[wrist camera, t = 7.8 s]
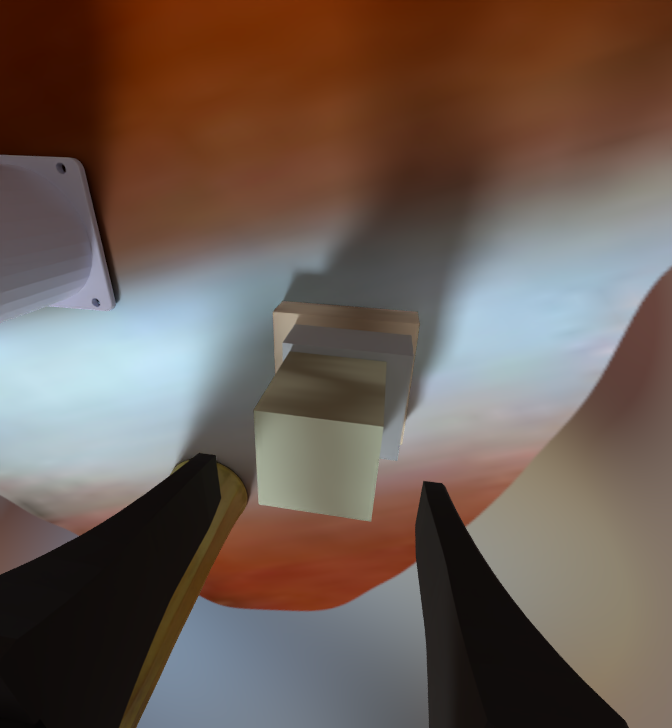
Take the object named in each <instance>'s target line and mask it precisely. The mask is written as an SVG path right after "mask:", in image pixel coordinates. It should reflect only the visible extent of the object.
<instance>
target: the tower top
mask: <svg viewBox="0 0 672 728" xmlns="http://www.w3.org/2000/svg"><path fill="white" fill-rule="evenodd" d="M282 351H283V361H284V360H285V358H286V356H287V355H288V353H289V351H292V352H301V353H310V354H320V355H329V356H338V357H347V358H356V359H366V360H375V361H384V362H387V366H386V387H385V408H384V427H383V435H382V442H381V450H380V457H379V458H380V459H388V460H395V461H397V459H398V453H399V447H400V440H401V434H402V428H403V421H404V415H405V409H406V402H407V396H408V390H409V383H410V377H411V371H412V364H413V358H414V354H413V345H412V336H411V335H403V334H393V333H383V332H372V331H362V330H351V329H341V328H331V327H320V326H310V325H299V324H295V325H294V326H293V328H292V329H291V331H290V332H289V334H288V335H287V337H286V338H285V340H284V341H283V343H282Z"/></svg>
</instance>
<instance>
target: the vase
mask: <svg viewBox="0 0 672 728" xmlns="http://www.w3.org/2000/svg"><path fill="white" fill-rule="evenodd" d="M188 461H189V460H187V461H184V462H182V463H180V464H179V465H177V466H176V467H175V468H174V470H173V471H172V473H171V474H173V473H174V472H175V471H176V470H178V469H179V468H180V467H182V466H183V465H184V464H185V463H187V462H188ZM216 463H217V462H216ZM217 470H218V477H219V484H220V492H221V500H220V503H219V506H218V508H217V511H216V514H215V516H214V518H213V521H212V523H211V526H210V528H209V530H208V531H207V533H206V535H205V537H204V539H203V541H202V543H201V544H200V546H199V548H198V550H197V552H196V554H195V555H194V557H193V559H192V561H191V563H190V565H189V566H188V568H187V570H186V572H185V574H184V575H183V577H182V579H181V581H180V583H179V585H178V586H177V588H176V590H175V592H174V594H173V596H172V598H171V600H170V602H169V604H168V607H167V609H166V611H165V614H164V616H163V618H162V621H161V623H160V625H159V627H158V630H157V632H156V634H155V637H154V639H153V642H152V644H151V646H150V649H149V651H148V654H147V656H146V659H145V661H144V663H143V666H142V668H141V671H140V674H139V676H138V679H137V681H136V684H135V686H134V689H133V692H132V694H131V697H130V699H129V702H128V705H127V707H126V710H125V713H124V715H123V718H122V721H121V724H120V727H119V728H136V727H137V724H138V723H139V720H140V718H141V716H142V714H143V712H144V710H145V708H146V705H147V703H148V701H149V699H150V697H151V695H152V693H153V691H154V689H155V686H156V684H157V682H158V680H159V678H160V676H161V674H162V671H163V669H164V667H165V665H166V663H167V661H168V658H169V656H170V654H171V652H172V649H173V647H174V645H175V643H176V641H177V639H178V637H179V635H180V633H181V631H182V628H183V626H184V624H185V622H186V620H187V618H188V616H189V614H190V612H191V610H192V608H193V606H194V604H195V602H196V600H197V598H198V596H199V594H200V591H201V589H202V587H203V585H204V583H205V580H206V578H207V576H208V574H209V571H210V569H211V567H212V565H213V563H214V561H215V559H216V558H217V556H218V554H219V552H220V550H221V548H222V546H223V544H224V542H225V541H226V539H227V537H228V535H229V533H230V531H231V529H232V528H233V526H234V524H235V522H236V521H237V519H238V518H239V516H240V515H241V514H242V512H243V511H244V509H245V507H246V504H247V500H248V499H247V492H246V489H245V487H244V484H243V483H242V481H241V480H240V478H239V477H238V476H237V475H236V474H235V473H234V472H233V471H231V470H230V469H229V468H227V467H225V466H223V465H221V464H219V463H217ZM171 474H170V475H171Z"/></svg>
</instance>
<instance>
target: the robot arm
mask: <svg viewBox="0 0 672 728" xmlns="http://www.w3.org/2000/svg"><path fill="white" fill-rule="evenodd" d="M62 165H64V166H65V168H66V172H64V171H63V169H62ZM96 299H98V300H99V302H100V304H99V303H98V302H97V300H96ZM46 306H52V307H64V308H76V309H88V310H99V311H110V310H112V309H113V308H115V306H116V302H115V297H114V293H113V289H112V285H111V280H110V276H109V272H108V268H107V264H106V259H105V255H104V251H103V247H102V242H101V238H100V234H99V230H98V225H97V221H96V217H95V213H94V208H93V204H92V200H91V196H90V191H89V187H88V183H87V179H86V174H85V170H84V167H83V165H82V164H81V162H80V161H79V160H77V159H75V158H69V157H43V156H17V155H0V323H3V322H5V321H8V320H11V319H13V318H16V317H19V316H21V315H24V314H27V313H30V312H32V311H35V310H38V309H40V308H43V307H46ZM220 500H221V492H220V484H219V477H218V470H217V463H216V456H215V455H209V454H201V453H199V454H197V455H196V456H195V457H193V458H192V459H191V460H189V461H188V462H187V463H185V464H184V465H183V466H182V467H180V468H179V469H178V470H176V471H175V472H174V473H173V474H171V475H170V476H169V477H167V478H166V479H165V480H163V481H162V482H161V483H159V484H158V485H157V486H155V487H154V488H153V489H151V490H150V491H149V492H147V493H146V494H145V495H143V496H142V497H140V498H139V499H137V500H136V501H134V502H133V503H132V504H130V505H129V506H127V507H126V508H124V509H123V510H121V511H120V512H118V513H117V514H115V515H114V516H112V517H111V518H109V519H107V520H106V521H104V522H103V523H101V524H99V525H98V526H96V527H94V528H93V529H91V530H89V531H87V532H86V533H84V534H82V535H81V536H79V537H77V538H75V539H73V540H71V541H69V542H67V543H65V544H64V545H62V546H60V547H58V548H56V549H54V550H52V551H51V552H48V553H46V554H45V555H42V556H41V557H38V558H36V559H34V560H32V561H30V562H28V563H26V564H24V565H21V566H19V567H17V568H14V569H12V570H10V571H8V572H6V573H3V574H1V575H0V728H119V727H120V724H121V721H122V718H123V715H124V713H125V710H126V707H127V705H128V702H129V699H130V697H131V694H132V692H133V689H134V686H135V684H136V681H137V679H138V676H139V674H140V671H141V668H142V666H143V663H144V661H145V659H146V656H147V654H148V651H149V649H150V646H151V644H152V642H153V639H154V637H155V634H156V632H157V630H158V627H159V625H160V623H161V621H162V618H163V616H164V614H165V611H166V609H167V607H168V604H169V602H170V600H171V598H172V596H173V594H174V592H175V590H176V588H177V586H178V585H179V583H180V581H181V579H182V577H183V575H184V574H185V572H186V570H187V568H188V566H189V565H190V563H191V561H192V559H193V557H194V555H195V554H196V552H197V550H198V548H199V546H200V544H201V543H202V541H203V539H204V537H205V535H206V533H207V531H208V530H209V528H210V526H211V523H212V521H213V518H214V516H215V514H216V511H217V508H218V506H219V503H220ZM415 536H416V561H417V569H418V578H419V585H420V594H421V602H422V610H423V617H424V626H425V636H426V649H427V674H428V675H427V676H428V703H429V704H428V705H429V728H629V727H628V725H627V723H626V721H625V720H624V719H623V718H622V717H621V716H620V715H618V714H617V712H615V711H614V710H613V709H612V708H611V707H610V706H609V705H608V704H607V703H606V702H605V701H604V700H603V699H602V698H601V697H600V696H599V695H598V694H597V693H596V692H595V691H594V690H593V689H592V688H591V687H590V686H589V685H587V683H585V682H584V681H583V680H582V678H581V677H580V676H579V675H578V674H577V673H576V672H575V671H574V670H573V669H572V668H571V667H570V666H569V665H568V664H567V663H566V662H565V661H564V660H563V658H562V657H561V656H560V655H559V654H558V653H557V652H556V651H555V649H554V648H553V647H552V646H551V645H550V644H549V643H548V641H547V640H546V639H545V638H544V637H543V636H542V634H541V633H540V632H539V631H538V630H537V629H536V628H535V626H534V625H533V624H532V623H531V622H530V621H529V619H528V618H527V617H526V616H525V614H524V613H523V612H522V611H521V609H520V608H519V607H518V605H517V604H516V603H515V602H514V600H513V599H512V598H511V597H510V595H509V594H508V592H507V591H506V590H505V588H504V587H503V586H502V584H501V583H500V582H499V580H498V579H497V577H496V576H495V574H494V573H493V571H492V570H491V568H490V567H489V565H488V564H487V562H486V561H485V559H484V558H483V556H482V554H481V553H480V551H479V550H478V548H477V547H476V545H475V543H474V541H473V540H472V538H471V536H470V535H469V533H468V531H467V529H466V528H465V526H464V524H463V522H462V520H461V518H460V516H459V515H458V513H457V511H456V509H455V507H454V505H453V503H452V501H451V499H450V496H449V494H448V492H447V490H446V487H445V486H444V485H443V484H442V483H435V482H427V481H423V487H422V492H421V497H420V503H419V508H418V513H417V518H416V524H415Z"/></svg>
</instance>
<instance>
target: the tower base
mask: <svg viewBox="0 0 672 728" xmlns="http://www.w3.org/2000/svg"><path fill="white" fill-rule="evenodd" d="M295 324H299V325H310V326H320V327H331V328H341V329H351V330H362V331H372V332H383V333H393V334H403V335H411V336H412V345H413V354H414V358H413V364H412V371H411V377H410V383H409V390H408V396H407V402H406V409H405V415H404V421H403V428H402V434H401V440H400V445H402V441H403V435H404V428H405V421H406V414H407V408H408V401H409V394H410V387H411V380H412V374H413V367H414V360H415V353H416V347H417V340H418V333H419V326H420V322H419V317H418V312H415V311H403V310H390V309H378V308H365V307H353V306H340V305H327V304H315V303H302V302H290V301H282V302H281V303H280V304H279V306H278V307H277V308H276V309H275V310H274V311H273V331H274V357H275V374H276V373H277V371H278V369H279V368H280V366H281V364H282V363H283V351H282V343H283V341H284V340H285V338H286V337H287V335H288V334H289V332H290V331H291V329H292V328H293V326H294V325H295Z"/></svg>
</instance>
